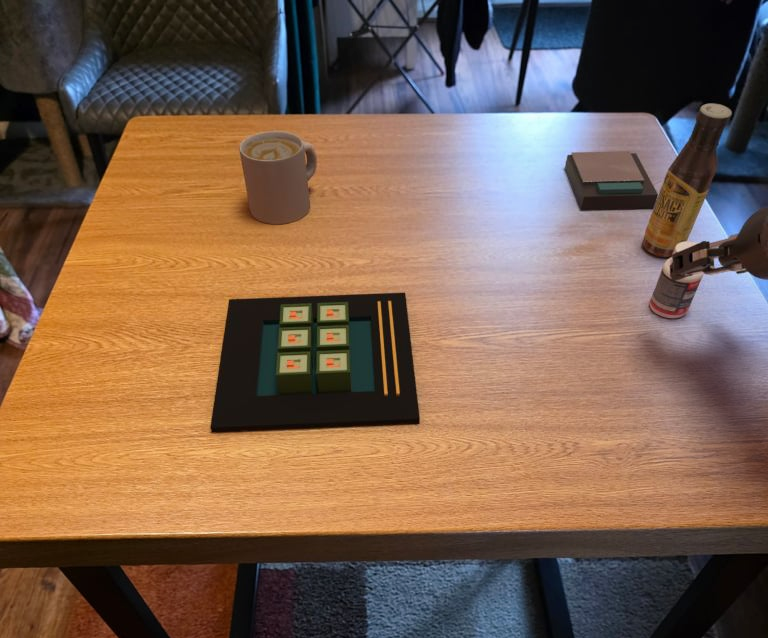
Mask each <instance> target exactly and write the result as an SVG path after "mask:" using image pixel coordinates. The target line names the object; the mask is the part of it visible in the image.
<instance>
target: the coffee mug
mask: <svg viewBox="0 0 768 638" xmlns="http://www.w3.org/2000/svg"><path fill="white" fill-rule="evenodd" d="M238 150H239V156H240V161H241V166H242V173H243V178H244V185H245V189H246V194H247V195H246V196H247V201H248V206H249V212H250V214H251V216H252V217H253V218H254V219H255V220H257V221H259V222H261V223H265V224H270V225H286V224H290V223H294V222H297V221H299V220H301V219H303V218H304V217H305V216H306V215H308V214H309V212H310V210H311V200H310V199H311V198H310V190H309V181H310V180H311V179H312V177H313V176H314V175H315V173H316V172H317V171H316V170H317V166H318V165H317V163H318V157H317V152H316V149H315V147H314V146H313V144H311V143H310V142H308V141H303V139H302V138H301V137H300V136H299V135H297V134H295V133H293V132H290V131H285V130H267V131H265V130H264V131H261V132H257V133H254V134H253V133H252V134H251V135H249V136H247V137H245V138H244V139H243V140H242V141H241V142H240V144H239V146H238Z"/></svg>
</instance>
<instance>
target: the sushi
mask: <svg viewBox="0 0 768 638" xmlns="http://www.w3.org/2000/svg"><path fill="white" fill-rule="evenodd" d="M224 325H225V326H224V331H223V336H222V337H223V338H222V345H221V352H220V357H219V358H220V359H219V366H218V371H217V379H216V386H215V394H214V400H213V407H212V412H211V413H212V414H211V420H210V427H209V428H210V432H211V433H214V434H215V433H234V432H235V433H237V432H258V431H261V432H262V431H285V430H303V429H304V430H305V429H307V430H308V429H327V428H349V427H350V428H351V427H352V428H353V427H373V426H374V427H375V426H376V427H377V426H396V425H398V426H399V425H417V424H418V425H419V424H420V423H421V422H420V421H421V417H420V416H421V415H420V408H419V400H418V399H419V397H418V391H417V382H416V373H415V364H414V356H413V348H412V347H413V346H412V340H411V330H410V321H409V313H408V304H407V295H406V292H384V293H383V292H382V293H379V292H378V293H358V294H357V293H356V294H355V293H354V294H332V295H330V294H329V295H328V294H326V295H304V296H301V295H300V296H280V297H279V296H278V297H252V298H229V299H228V304H227V311H226V317H225V324H224Z"/></svg>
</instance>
